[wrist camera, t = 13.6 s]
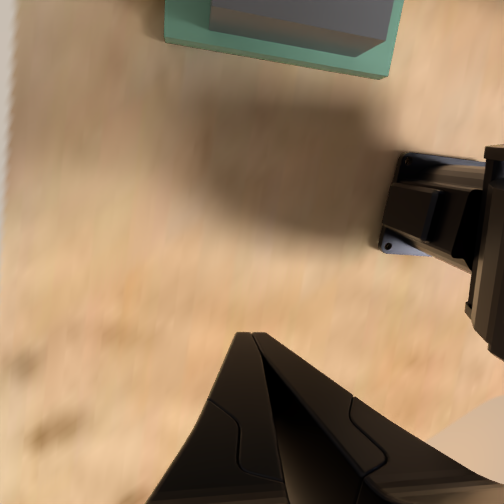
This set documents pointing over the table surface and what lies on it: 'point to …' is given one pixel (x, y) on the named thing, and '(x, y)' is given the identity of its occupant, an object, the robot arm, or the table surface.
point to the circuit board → (199, 36)
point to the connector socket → (306, 22)
